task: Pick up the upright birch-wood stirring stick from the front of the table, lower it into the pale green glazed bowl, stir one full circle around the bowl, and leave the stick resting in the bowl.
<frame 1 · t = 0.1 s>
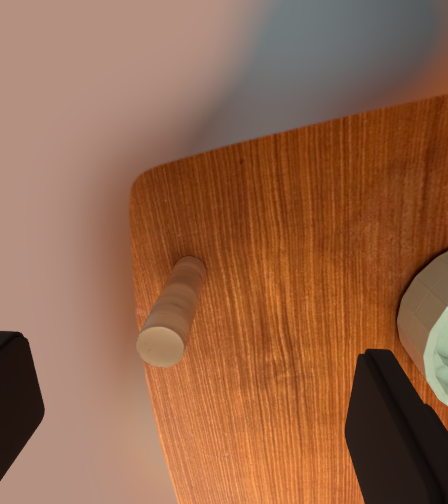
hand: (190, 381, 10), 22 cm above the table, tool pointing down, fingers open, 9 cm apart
stirring stick: (190, 271, 33), on the table
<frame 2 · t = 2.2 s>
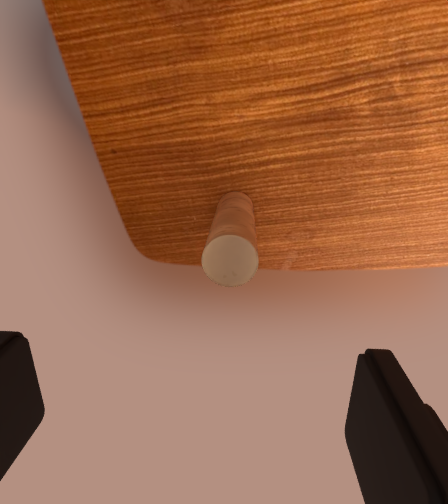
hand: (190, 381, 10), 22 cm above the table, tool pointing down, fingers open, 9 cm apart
stirring stick: (235, 209, 30), on the table
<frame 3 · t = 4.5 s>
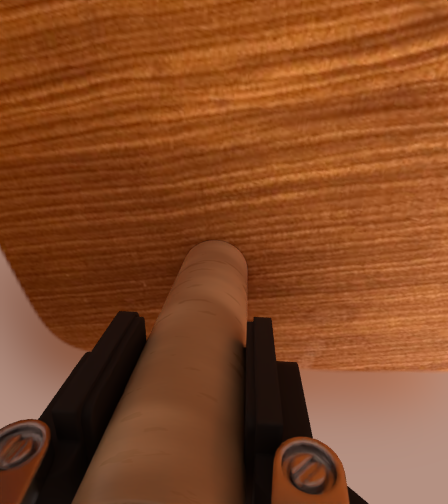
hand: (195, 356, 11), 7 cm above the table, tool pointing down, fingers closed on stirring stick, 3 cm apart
stirring stick: (215, 270, 17), on the table, touching gripper
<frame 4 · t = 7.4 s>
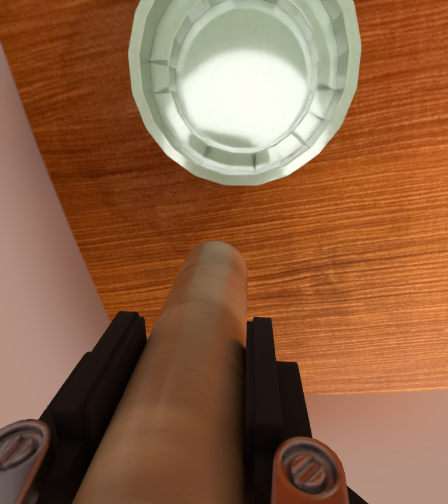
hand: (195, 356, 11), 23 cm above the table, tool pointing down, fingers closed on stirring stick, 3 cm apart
bowl: (243, 80, 28), on the table
stirring stick: (215, 270, 17), point 17 cm above the table, touching gripper
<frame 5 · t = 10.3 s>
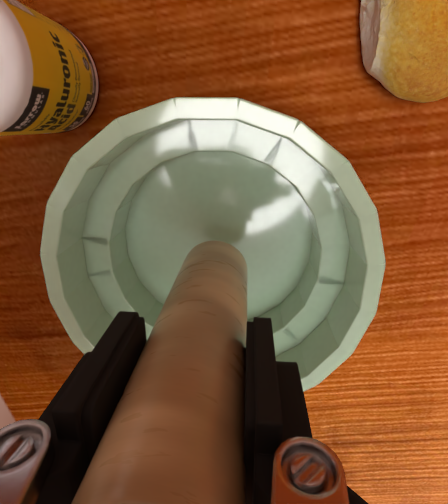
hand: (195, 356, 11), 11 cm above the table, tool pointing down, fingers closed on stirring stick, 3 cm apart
bowl: (218, 240, 21), on the table
bread roll: (444, 11, 16), on the table
supplement bottle: (55, 80, 19), on the table
stirring stick: (215, 270, 17), point 5 cm above the table, touching gripper
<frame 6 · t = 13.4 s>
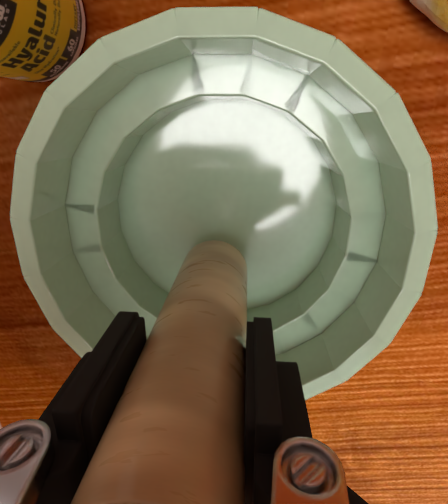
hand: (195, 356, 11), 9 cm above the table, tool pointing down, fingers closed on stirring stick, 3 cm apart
bowl: (225, 214, 18), on the table
supplement bottle: (35, 19, 16), on the table
stirring stick: (215, 270, 17), point 2 cm above the table, touching gripper
when the fingers open (7 cm above the table, at t = 15.9 s): stirring stick stays where it is, resting on bowl.
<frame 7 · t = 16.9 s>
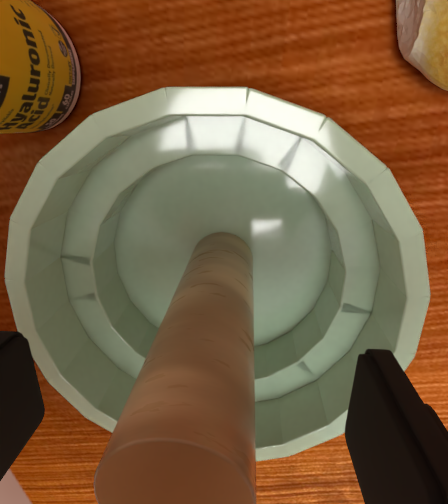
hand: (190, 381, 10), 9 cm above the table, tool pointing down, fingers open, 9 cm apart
bowl: (221, 256, 18), on the table
supplement bottle: (30, 70, 16), on the table
stirring stick: (222, 260, 18), point 1 cm above the table, touching bowl
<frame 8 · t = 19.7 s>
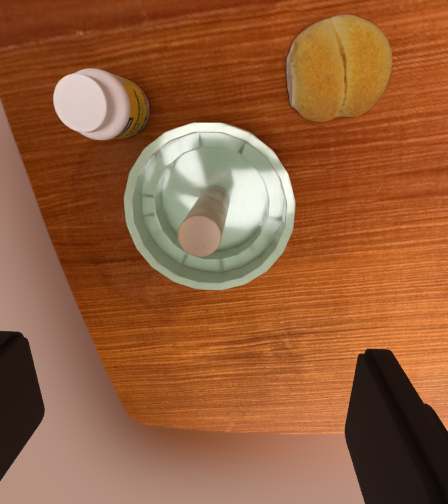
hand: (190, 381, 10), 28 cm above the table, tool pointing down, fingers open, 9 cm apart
bowl: (214, 199, 36), on the table
bread roll: (331, 75, 32), on the table
supplement bottle: (125, 108, 34), on the table
stirring stick: (214, 200, 36), point 1 cm above the table, touching bowl
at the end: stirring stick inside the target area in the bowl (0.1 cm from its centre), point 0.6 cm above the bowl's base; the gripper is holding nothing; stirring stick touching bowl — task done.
